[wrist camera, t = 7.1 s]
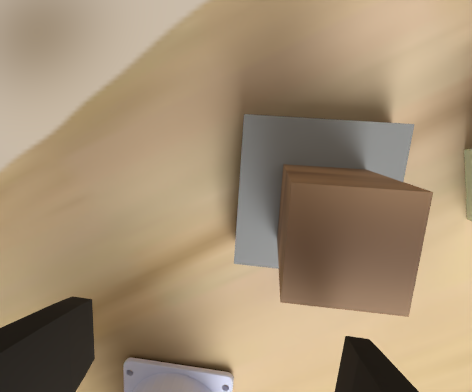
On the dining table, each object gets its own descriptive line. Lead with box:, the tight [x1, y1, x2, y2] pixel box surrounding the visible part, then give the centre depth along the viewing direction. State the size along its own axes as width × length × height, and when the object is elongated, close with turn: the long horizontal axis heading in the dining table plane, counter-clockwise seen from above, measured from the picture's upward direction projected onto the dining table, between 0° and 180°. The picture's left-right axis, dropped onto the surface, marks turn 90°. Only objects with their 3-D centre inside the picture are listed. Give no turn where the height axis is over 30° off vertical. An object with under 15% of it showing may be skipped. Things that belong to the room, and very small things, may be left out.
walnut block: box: [277, 164, 433, 317], centre depth 12 cm, size 4×4×6 cm
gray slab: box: [234, 114, 414, 269], centre depth 16 cm, size 8×8×3 cm
